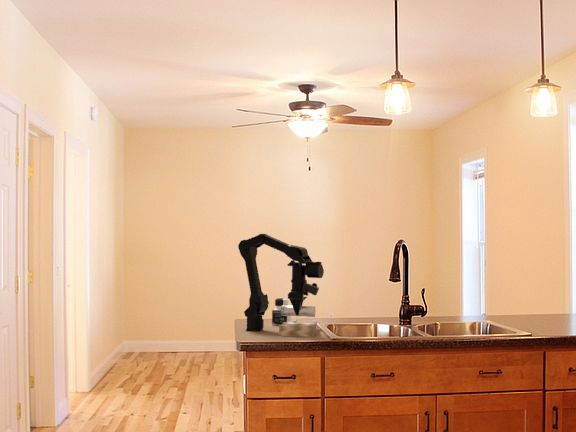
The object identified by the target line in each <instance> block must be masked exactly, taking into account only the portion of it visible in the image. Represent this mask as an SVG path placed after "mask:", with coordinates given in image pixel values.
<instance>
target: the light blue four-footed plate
mask: <svg viewBox="0 0 576 432" xmlns="http://www.w3.org/2000/svg"><path fill="white" fill-rule="evenodd" d="M297 320H298V319H290V322H287V323H298V322H297ZM308 323H316V332H317V331H318V330H319V327H317V325H318V322H317V320H314V319H313V320H311V319H310V321H309V322H308Z"/></svg>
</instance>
